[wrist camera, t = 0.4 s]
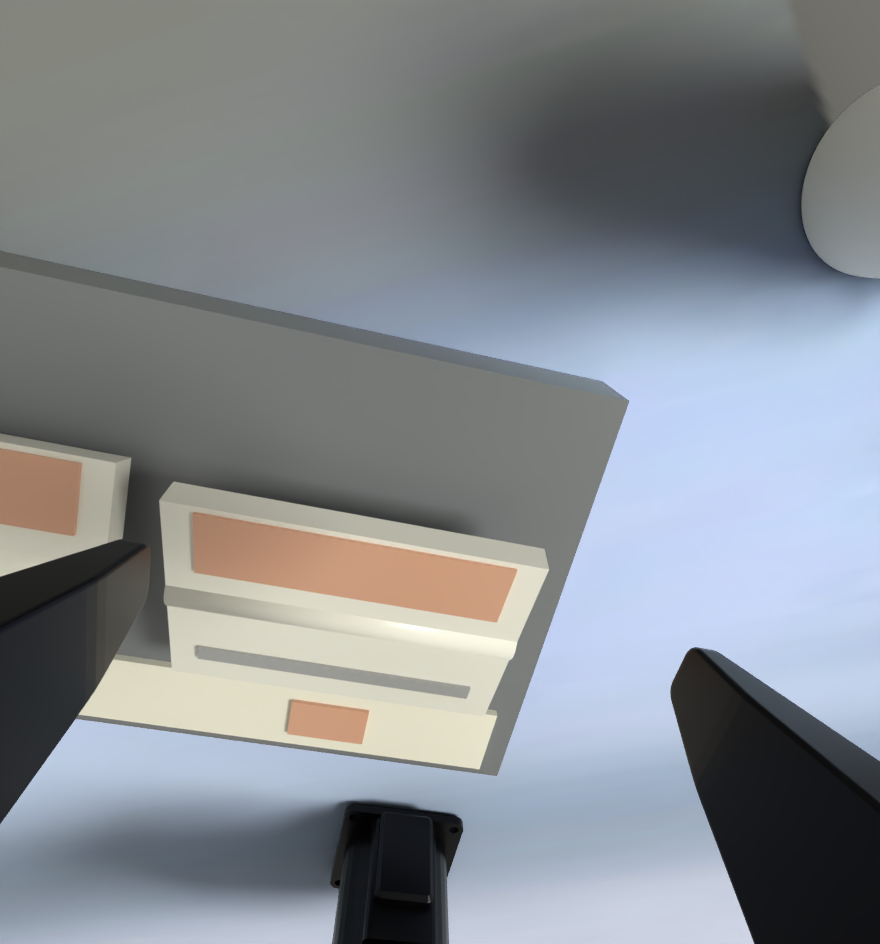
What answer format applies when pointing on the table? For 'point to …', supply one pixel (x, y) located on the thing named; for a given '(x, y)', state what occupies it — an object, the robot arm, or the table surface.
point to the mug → (847, 191)
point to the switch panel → (300, 473)
